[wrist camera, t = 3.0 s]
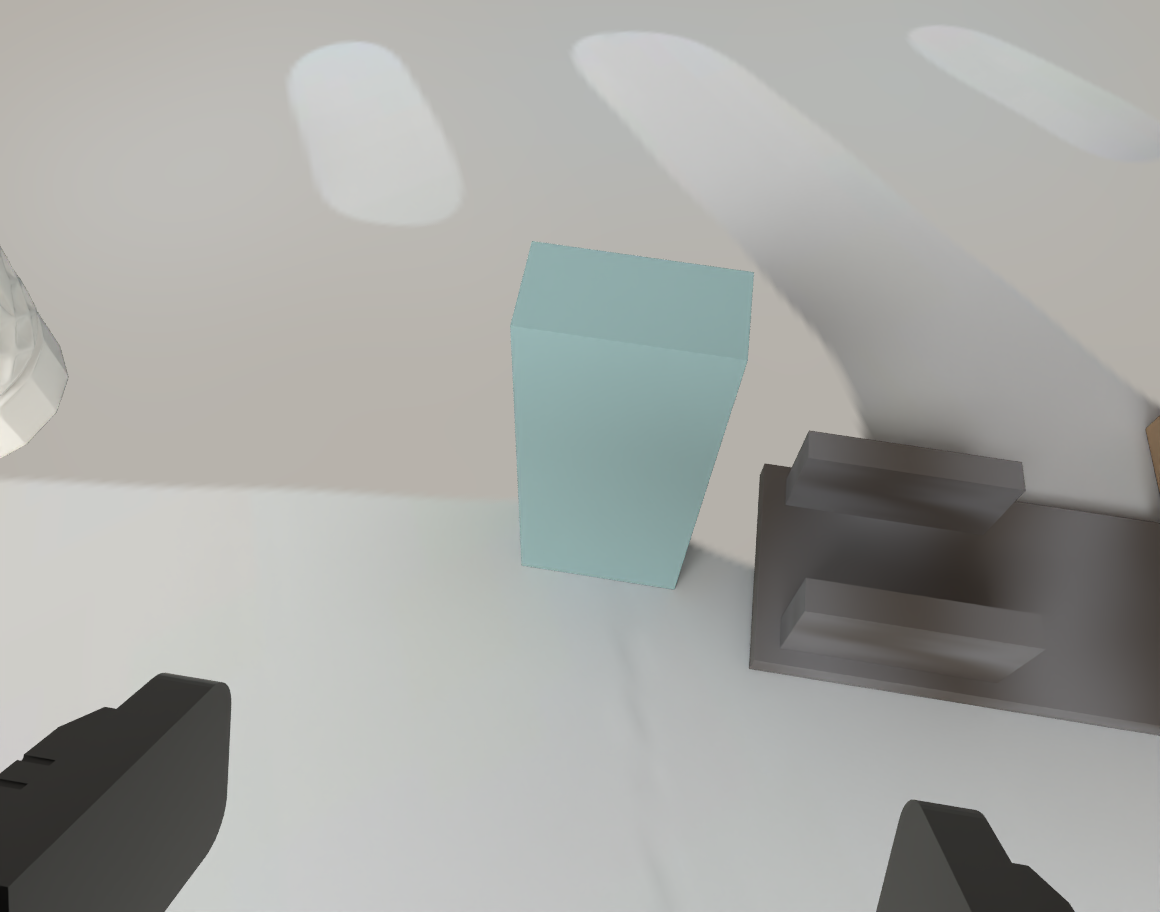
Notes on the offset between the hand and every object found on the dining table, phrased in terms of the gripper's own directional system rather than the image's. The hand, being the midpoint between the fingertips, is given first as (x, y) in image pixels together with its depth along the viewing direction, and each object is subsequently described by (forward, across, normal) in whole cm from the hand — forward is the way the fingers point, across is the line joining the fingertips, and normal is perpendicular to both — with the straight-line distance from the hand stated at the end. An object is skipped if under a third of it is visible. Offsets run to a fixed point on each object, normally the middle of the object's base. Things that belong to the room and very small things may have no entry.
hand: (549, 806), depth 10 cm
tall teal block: (+19, 0, +3) cm, 19 cm away
